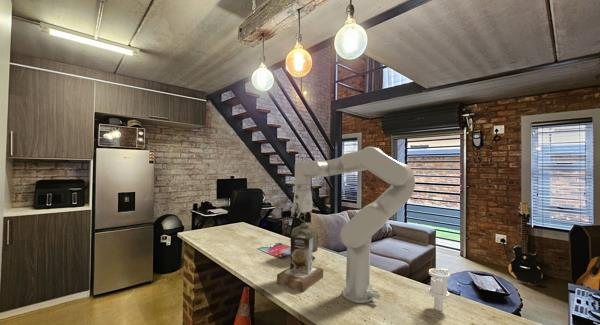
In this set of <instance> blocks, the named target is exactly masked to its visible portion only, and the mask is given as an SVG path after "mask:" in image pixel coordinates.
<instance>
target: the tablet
mask: <svg viewBox="0 0 600 325" xmlns="http://www.w3.org/2000/svg"><path fill="white" fill-rule="evenodd" d="M274 244H275V245H274V246H273V247H271V246H270V247H264V246H261V247H257V248H256V250H258V251H261V252H262V253H265V254H267V255H270V256H272V257H274V258H277V259H279V260H285V259H288V258H289V259H290V256H291V245H287V244H286V243H285V244H284V243H282V242H276V243H274Z"/></svg>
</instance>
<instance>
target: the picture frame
mask: <svg viewBox="0 0 600 325" xmlns="http://www.w3.org/2000/svg"><path fill="white" fill-rule="evenodd" d="M323 278H324V268H322V267H318V266H314V265H312V270H311V271H310V273H309V274H303V273H298V272H292V271H290V267H288V268H286V269H285V270H283V271H280V272H279V273H277V274H276V284H278V285H281V286H284V287H287V288H289V289H293V290H295V291H298V292H301V293H304V292H306V290H308V289H309V288H310V287H312V286H313V285H315V284H316V283H317V282H319V281H320V280H321V279H323Z"/></svg>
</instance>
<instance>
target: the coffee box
mask: <svg viewBox="0 0 600 325" xmlns="http://www.w3.org/2000/svg"><path fill="white" fill-rule="evenodd" d="M290 239H291V241H290V246H291V256H290V257H289V259H290V262H289V268H290V271H292V272H298V273H303V274H309V273H310V271H311V270H312V266H313V259H312V255H313V253H312V247H313V236H310V235H302V234H294V235H293V236H291V235H290Z"/></svg>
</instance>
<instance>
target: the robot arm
mask: <svg viewBox="0 0 600 325" xmlns="http://www.w3.org/2000/svg"><path fill="white" fill-rule="evenodd" d="M362 171H369V172H370V173H372V174H373V175H374V176H376V177H378V178H379V179H380V180H382V181H384V182H385V183H387V184H389V185H390V186H389V187H387V189H385V191H384V192H382V194H380V196H379V197H377V198H376V200H374V201H373V202H371V203H369V204H367V205H365V206H364V207H362V208H361V209H360V210H359V211H358V212H357V213H356V214H355V215H354V216H353V217H352V218H351V219H350V220H348V221H347V223H345V224H344V225H343V226H342V227H341V230H340V232H339V239H340V241H341V243H342V245H344V247H346V263H345V264H346V267H345V268H346V270H345V271H346V272H345V273H346V276H345V287H344V288H343V289H342V292H341V294H342V295H341V296H342V297H343V298H344V299H345V300H347V301H349V302H351V303H354V304H355V303H356V304H367V303H370V302H372V301H373V299H377V300H380V296H381V295H380V293H379V291H378V290H374V289H373V288H372V285H371V283H370V282H371V281H370V277H371V275H370V273H371V268H370V267H371V247H372V246H371V245H372V239H373V238H372V237H373V236H374V235H375V234H376V233H377V232H378V231H379V230H381V229H382V228H383V227H384V226H385V225H386V223H387V222H388V221H389V220H390V219H391V217H392V216H393V215H395V214H396V213H397V212H398V211H399V210H400V209H401V208H402V207H403V206H405V204H407V202H408V201H409V200H410V199H411V197H412V195H413V193H414V190H415V188H416V179H415V174H414V172H413V170H412V168H411V167H410V166H409V165H408V164H406V163H403V162H399V161H397V160H396V159H394V158H392V157H391V156H388V155H387V154H386V153H384V151H383V149H382V150H381V148H378V147H375V146H366V147H364V148H362V149H361V150H357V151H351V152H347V153H343V154H342V155H341V156H339V157H337V158H333V159H328V160H310V161H309V160H307V161H306V160H305V161H303V160H300V161H299V160H298V161H295V163H294V192H293V193H294V194H293V201H292V202H293V205H292V207H291V208H290V212H291V215H292V218H293V219H292V223H293V224H292V225H293V227H299V226H300V225H301V222H300V221H301V220H300V216H301V214H304V215H305V216H304V220H305V223H307V224H308V223H312V211H313V208H314V204H313V196H312V195H313V194H312V190H311V189H312V188H311V186H312V184H311V183H312V179H311V178H326V177H331V176H336V175H343V174H346V175H347V174H352V173H357V172H362Z"/></svg>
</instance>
